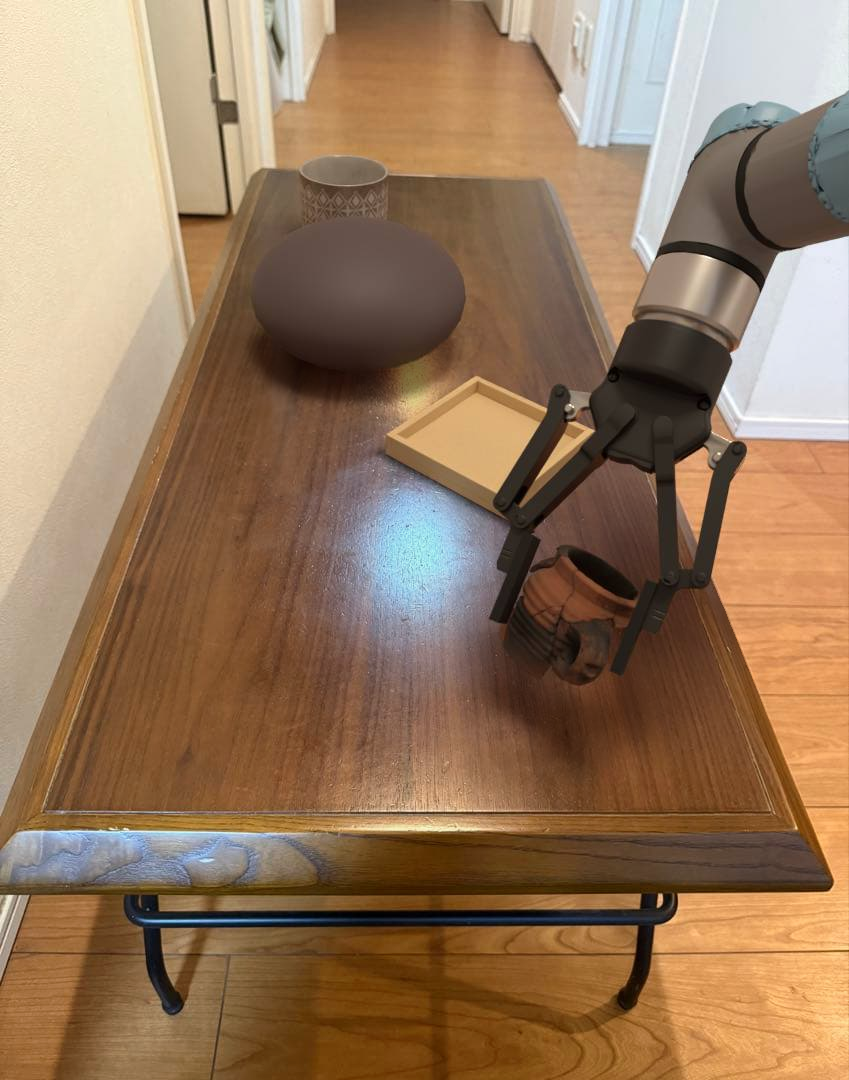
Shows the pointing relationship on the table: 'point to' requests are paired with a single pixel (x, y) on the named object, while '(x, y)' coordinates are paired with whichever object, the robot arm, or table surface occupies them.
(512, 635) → the pottery mug
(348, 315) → the smooth stone
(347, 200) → the planter
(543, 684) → the table surface
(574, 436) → the wooden tray
